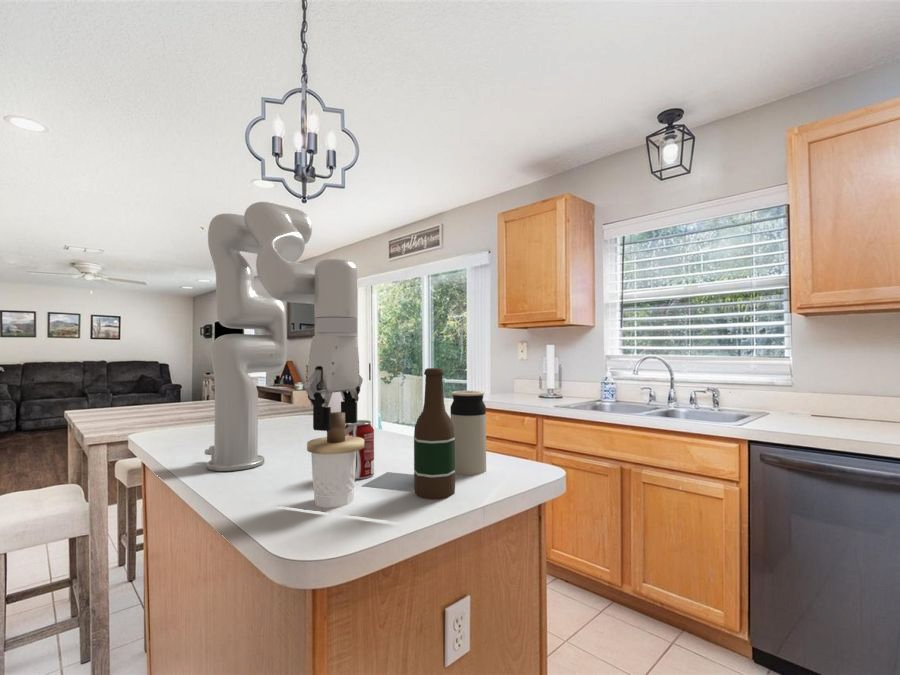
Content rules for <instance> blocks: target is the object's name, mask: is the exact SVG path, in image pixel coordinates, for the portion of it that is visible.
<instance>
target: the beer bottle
mask: <svg viewBox="0 0 900 675" xmlns="http://www.w3.org/2000/svg"><path fill="white" fill-rule="evenodd" d="M444 374H445V372H444V370H443V369H442V368H440V367H437V368H435V367H432V368H431V367H430V368H426V369H425V368H424V372H423V375H425V380H424V381H425V382H424V384H425V385H424V399H423V402H424V403H423V408H422V411H421V413H420V414H419V416H418V418H417V420H416V423H415V425H414V432H413V433H414V434H413V475H414V489H415V490H414V494H415V495H416V497H417V498H418V499H425V500H430V501H431V500H432V501H434V500H444V499H448V498H450V497H452V496H453V495H455V493H456V491H455V490H456V473H455V434H454V426H453V424H452V421H451V416H450V415H449V414H448V413H447V412H446V407H445V406H446V405H445V398H444V383H443V382H444V380H443V375H444Z"/></svg>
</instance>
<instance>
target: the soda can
mask: <svg viewBox="0 0 900 675" xmlns="http://www.w3.org/2000/svg"><path fill="white" fill-rule="evenodd" d="M371 423H372V421H371V420H366V419H357V422H356V423H354V424H353V423H345V436H354V437H360V438H363V439H364V448H363V449H361V450H358V451H356V471H355V481H356V480H365V479H369V478H371V477H373V476H374V474H375V430H374V429H375V428H374V427H373V426H372V424H371Z"/></svg>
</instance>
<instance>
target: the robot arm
mask: <svg viewBox="0 0 900 675" xmlns="http://www.w3.org/2000/svg"><path fill="white" fill-rule="evenodd" d="M244 211H245V212H244V215H242V214H237V213H220V214H216V215H215V216H213V218H212V219H211V221H210V222H209V225H208V232H207V244H208V249H209V254H210V258H211V260H212V263H213V267H214V272H215V297H216V316H217V320H218V323H219V324H220V325H221V326H222V327H225V328H228V329H235V330H236V329H238V330H239V329H240V330H260V332H261V334H251V333H230V334H229V333H228V334H223V335H220V336H218V337H217V338H215V339H214V340H213V342H212V343H211V346H210V360H211V364H212V372H213V379H214V381H213V382H214V441H213V443H214V445H210V446H209V447H208V448H206V449H205V450H204V452H203V453H204V455H207V456H210V457H211V459H210V460H209V461H207V463H206V468H207V469H208V470H210V471H215V472H233V471H241V470H242V471H243V470H247V469H252V468H253V469H254V468H256V467H259V466H261V465H264V463H265V457H264V456H263V455H260V454H258V453H259V452H258V451H259V450H258V448H259V447H258V446H259V445H258V444H259V442H258V441H259V426H258V425H259V391H258V389H257V386H256V384H255V382H254V381H253V380H252V378H251V377H250V375H249V374H253V373H255V374H256V373H272V372H273V373H274V372H278V371H280V370H282V369H283V368H284V367H285V365H286V362H287V358H288V343H287V342H288V339H287V312H286V308H285V304H284V303H294V304H295V303H297V304H309V305H314V335H313V336H312V339H311V342H310V347H309V348H310V349H309V354H308V364H307V381H306V382H305V383H304V384H303V388H304V390H305V392H306V394H307V398H308V400H309V401H310V406H311V408H312V409H313V410H312V412H313V413H312V417H313V418H312V429H313V430H314V431H319V432H320V431H322V432H327V431H329V430H330V429H331V413H332V412H331V410H332V407H331V406H329V404H330V402H331V398H332V395H333V393H340V394H341V398H342V400H343V401H340V412H344V413H345V423H353V424H354V423H356V422H357V420H358V401H359V399H360V398H359V394H360V392H361V387H362V384H363V380H364V379H363V377H362V376H361V375H360V356H359V345H358V340H357V337H358V270H357V269H358V268H357V266H356V264H355V263H354V262H353V261H350V260H347V259H346V260H345V259H339V258H335V259H334V258H329V259H328V258H327V259H323V260H320V261H318V262H317V263H316V265H315V264H311V263H304V262H297V261H298V260H299V259H300V258H301V256H303V253H304V251H305V247H306V246H305V245H306V244H307V243H309V241H310V239H311V237H312V232H313V225H312V221H311V219H310V217H309V216H308V215H307V213H305V212H304V211H302V210H301V209H298V208H292V207H289V206H286V205H281V204H277V203H273V202H269V201H268V202H267V201H259V202H255V203H251V204H250V205H249V206H248V207H247V208H246V210H244ZM240 252H243V253H248V254H249V253H250V254H255V255H256V261H255V263H256V264H255V269H256V275H257V278H258V280H259V281H260V283H261V285H262V286H263V288H264V290H265V291H266V292H263V291H262V292H260V291H256V289H255V274H254V271H253V268H252V267H251V266H250V263H249V262H248V261H247V260H246V258H245V257H244V256H243V255H242V254H241V253H240Z"/></svg>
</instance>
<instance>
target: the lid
mask: <svg viewBox="0 0 900 675" xmlns="http://www.w3.org/2000/svg"><path fill="white" fill-rule="evenodd" d="M345 426H346V424H345V413H344V412H341V411H336V412H334V411H333V412H331V429H330V430H329V431H326V436H324V437H318V438H314V439H310V440H309V441H307V442H306V450H307V452H308V453H311V454H312V453H316V454H342V453H350V452H355V451H358V450H361V449H363V448H364V439H363V438H360V437H354V436H345Z"/></svg>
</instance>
